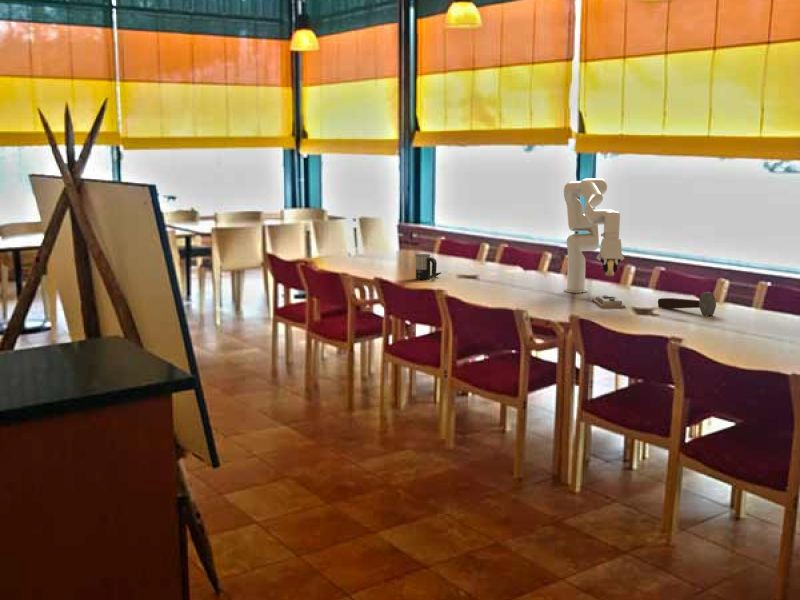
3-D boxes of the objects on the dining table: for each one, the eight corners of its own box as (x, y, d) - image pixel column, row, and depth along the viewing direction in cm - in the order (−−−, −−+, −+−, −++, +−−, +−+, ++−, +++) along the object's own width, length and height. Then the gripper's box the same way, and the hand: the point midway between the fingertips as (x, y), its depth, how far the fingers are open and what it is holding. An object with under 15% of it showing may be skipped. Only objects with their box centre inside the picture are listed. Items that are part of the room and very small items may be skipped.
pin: (604, 274, 434) (605, 257, 433) (612, 274, 434) (613, 257, 433) (606, 275, 430) (607, 258, 429) (614, 275, 430) (615, 258, 429)
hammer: (657, 314, 427) (710, 316, 402) (655, 292, 426) (709, 292, 402) (663, 313, 429) (716, 315, 405) (662, 291, 429) (715, 291, 404)
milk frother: (413, 279, 512) (413, 255, 509) (420, 276, 527) (420, 252, 524) (436, 281, 508) (436, 256, 505) (442, 277, 523) (443, 252, 520)
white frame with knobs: (592, 300, 445) (592, 292, 444) (615, 300, 445) (615, 292, 444) (601, 307, 425) (601, 299, 425) (625, 307, 425) (625, 299, 425)
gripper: (596, 236, 425) (594, 273, 429) (630, 236, 425) (628, 273, 429) (592, 235, 433) (591, 271, 436) (626, 235, 433) (624, 270, 436)
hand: (609, 271), depth 432 cm, fingers closed on pin, 4 cm apart
